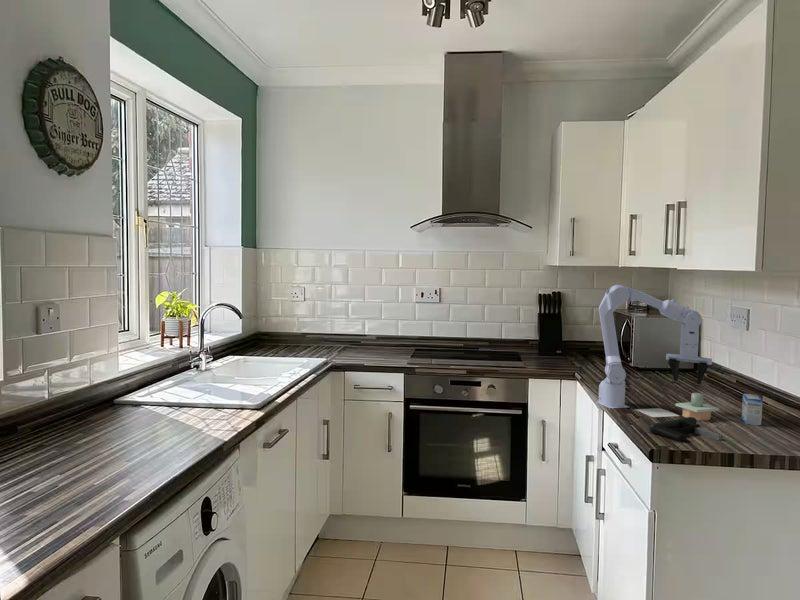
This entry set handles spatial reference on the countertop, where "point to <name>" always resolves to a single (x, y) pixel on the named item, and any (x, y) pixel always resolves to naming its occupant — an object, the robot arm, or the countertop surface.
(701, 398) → the lid
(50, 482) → the countertop surface
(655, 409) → the mat
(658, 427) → the black dustpan
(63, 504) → the countertop surface
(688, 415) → the bowl
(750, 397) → the medicine box
